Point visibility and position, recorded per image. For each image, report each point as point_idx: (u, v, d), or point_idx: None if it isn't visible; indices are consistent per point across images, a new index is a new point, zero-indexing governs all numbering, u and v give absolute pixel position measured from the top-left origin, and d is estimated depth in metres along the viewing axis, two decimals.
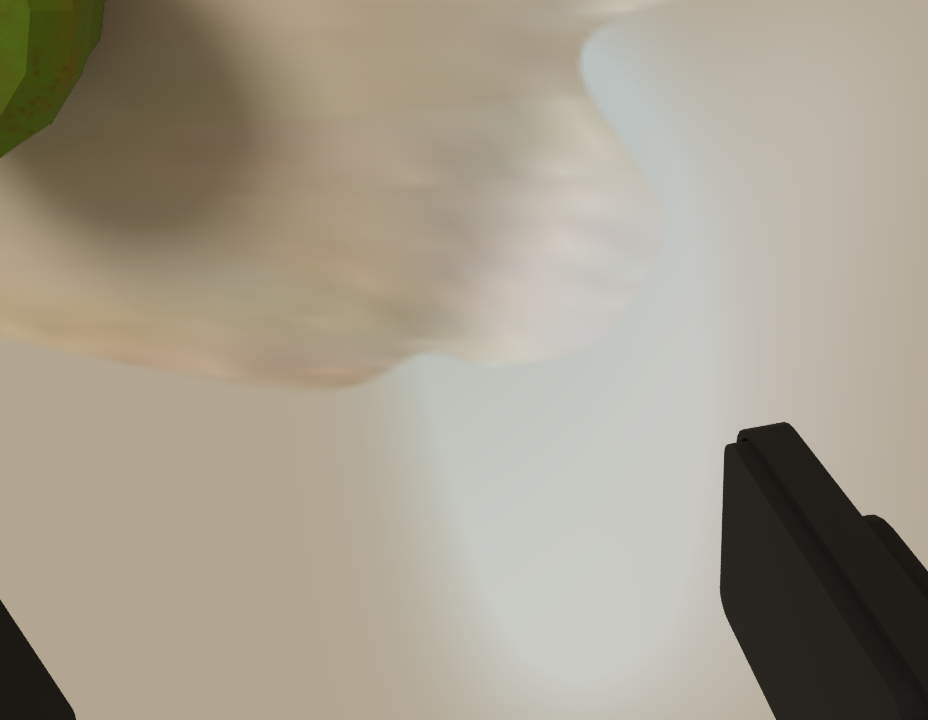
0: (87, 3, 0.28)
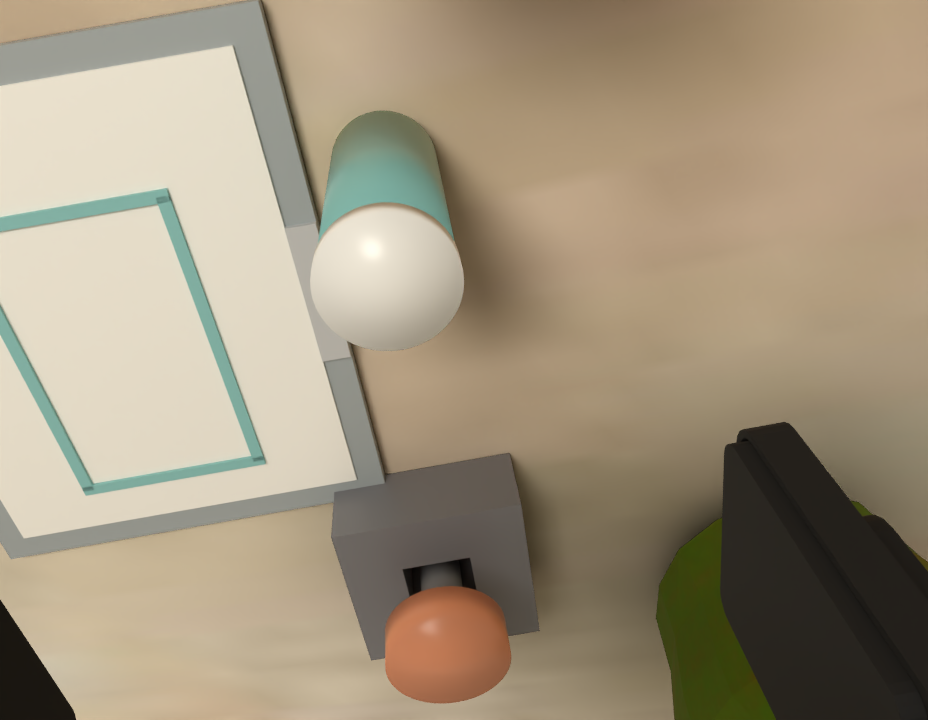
0: None
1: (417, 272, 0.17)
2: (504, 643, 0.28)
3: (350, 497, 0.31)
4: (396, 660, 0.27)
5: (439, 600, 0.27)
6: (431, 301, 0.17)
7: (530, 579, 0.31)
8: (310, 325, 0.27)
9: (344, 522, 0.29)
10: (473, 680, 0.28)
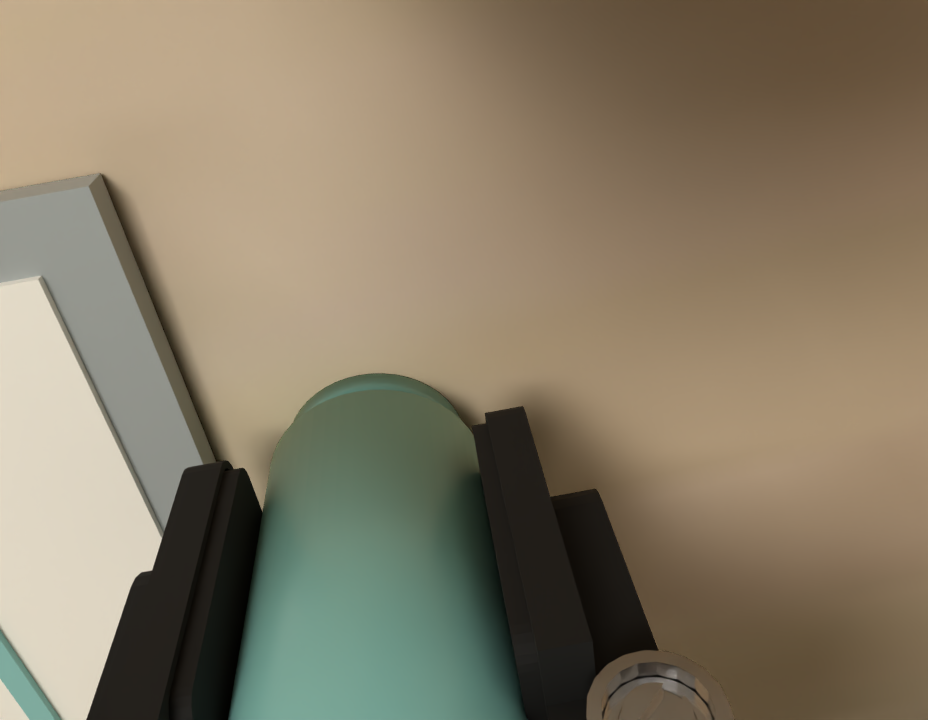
0: None
1: None
2: None
3: None
4: None
5: None
6: None
7: None
8: None
9: None
10: None
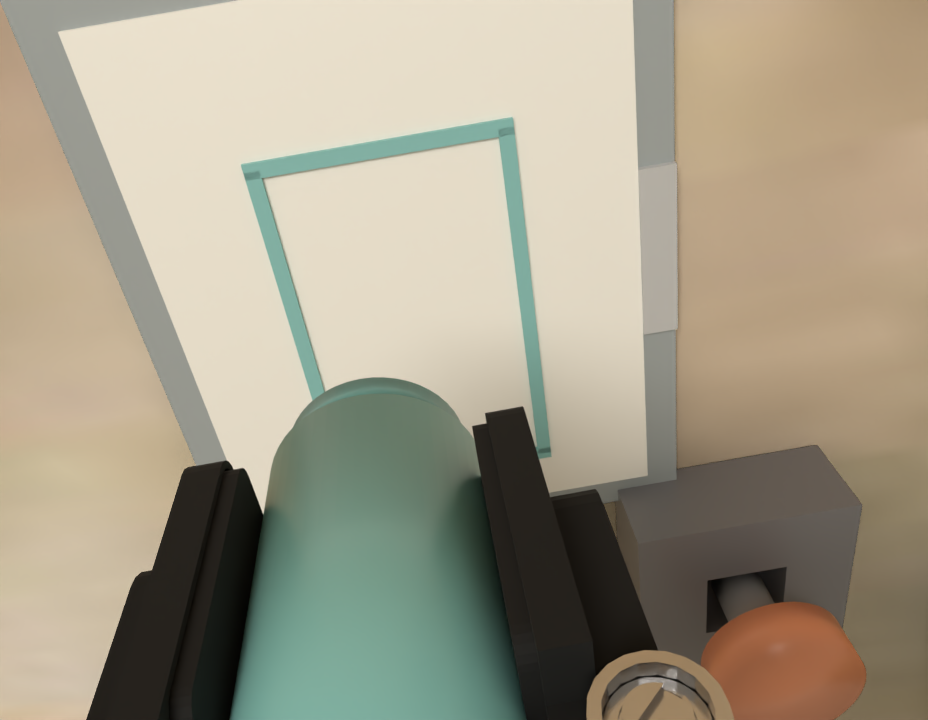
0: None
1: None
2: (862, 670, 0.23)
3: (640, 496, 0.26)
4: (734, 690, 0.23)
5: (786, 619, 0.23)
6: None
7: (846, 592, 0.27)
8: (637, 290, 0.23)
9: (646, 526, 0.25)
10: (812, 713, 0.24)
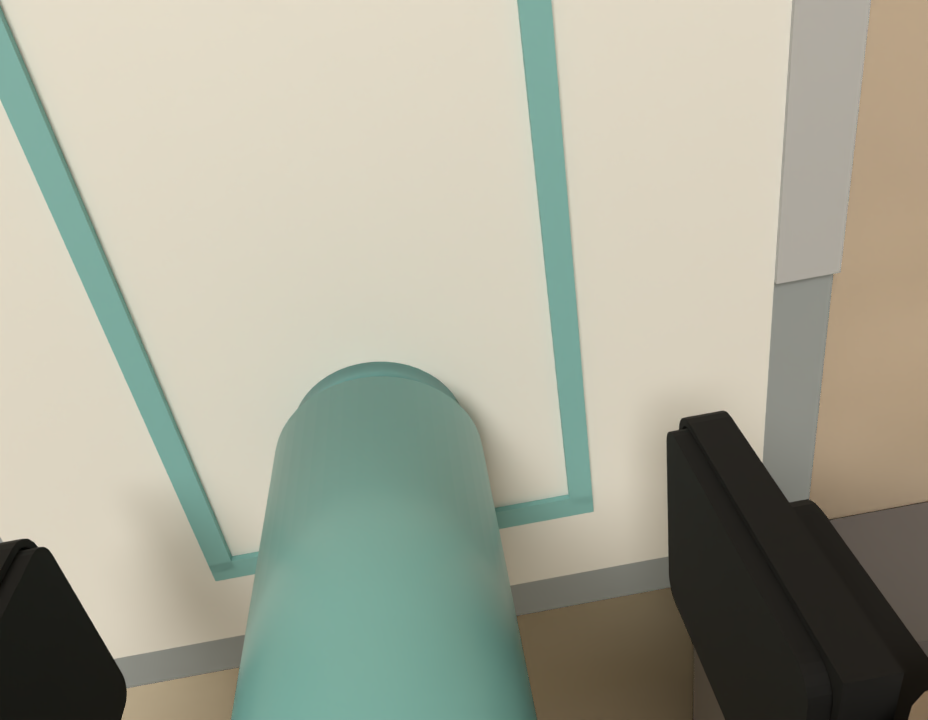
0: None
1: None
2: None
3: None
4: None
5: None
6: None
7: None
8: (770, 195, 0.12)
9: None
10: None
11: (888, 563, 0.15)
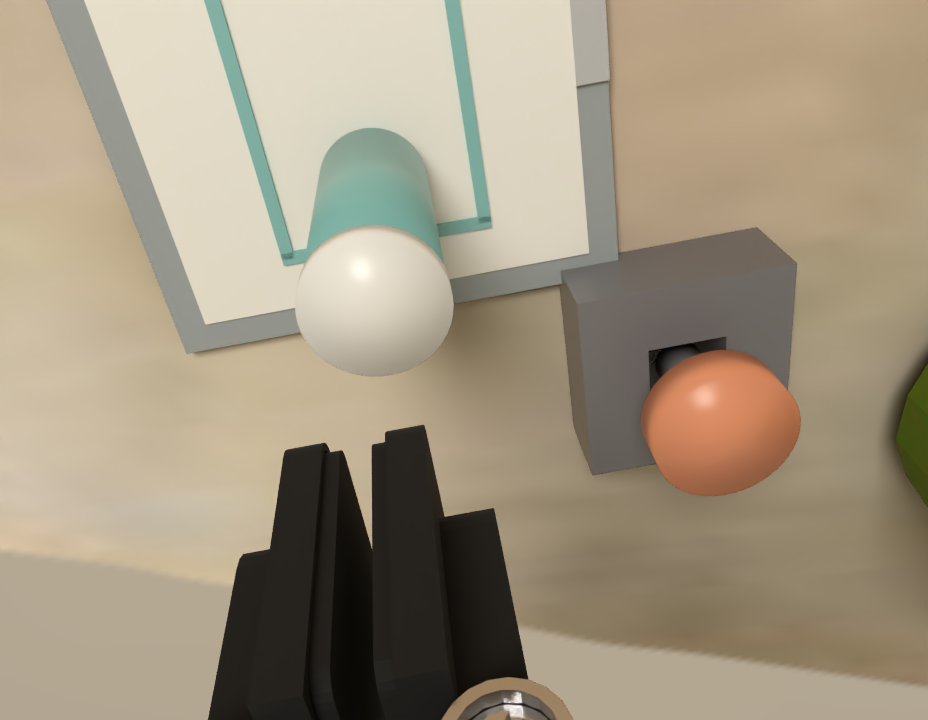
0: None
1: (405, 296, 0.17)
2: (796, 412, 0.23)
3: (582, 273, 0.27)
4: (670, 432, 0.23)
5: (720, 361, 0.23)
6: (419, 324, 0.17)
7: (787, 368, 0.27)
8: (568, 36, 0.23)
9: (586, 292, 0.25)
10: (750, 464, 0.24)
11: (661, 263, 0.26)
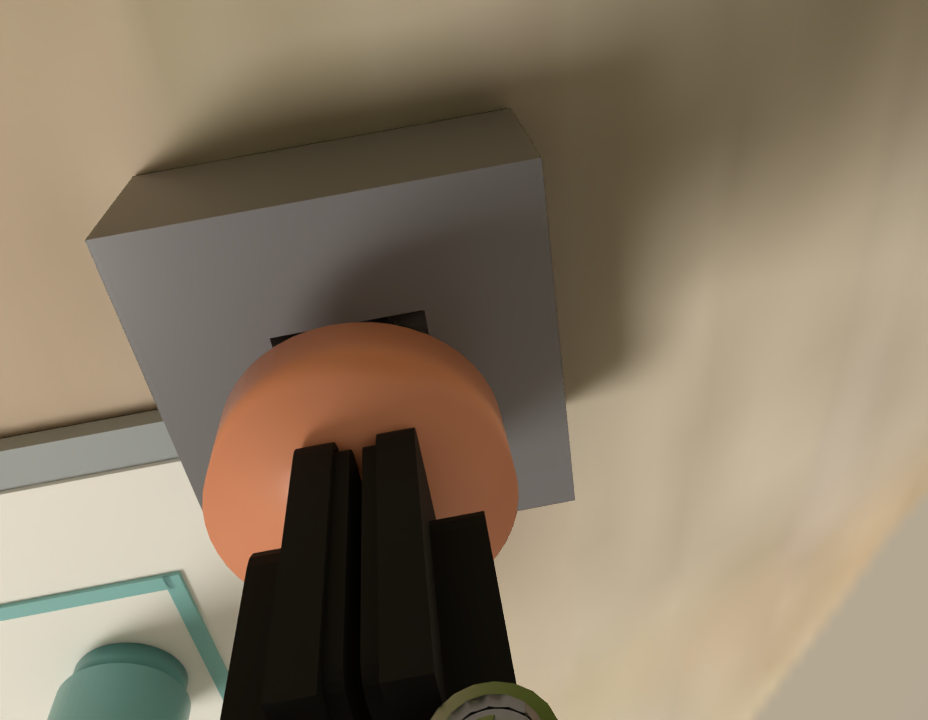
0: None
1: None
2: (289, 400, 0.10)
3: None
4: None
5: None
6: None
7: (344, 197, 0.12)
8: None
9: None
10: (437, 456, 0.11)
11: None
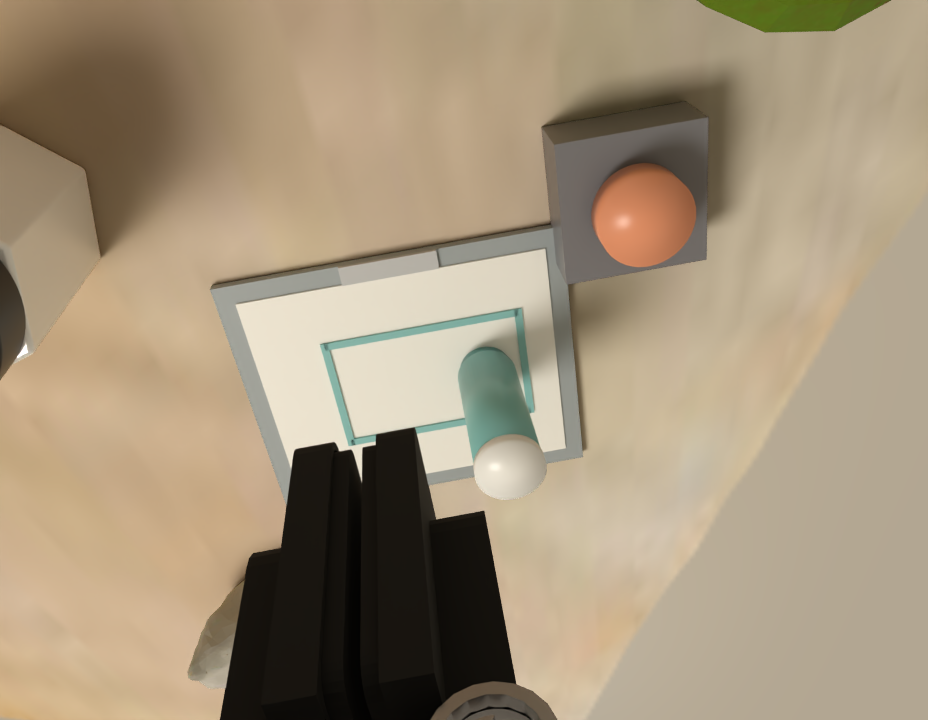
0: None
1: (505, 460, 0.36)
2: (634, 180, 0.34)
3: (557, 256, 0.40)
4: (634, 259, 0.36)
5: (594, 221, 0.36)
6: (521, 454, 0.36)
7: (641, 130, 0.35)
8: (412, 273, 0.41)
9: (563, 270, 0.39)
10: (673, 202, 0.35)
11: (553, 210, 0.39)
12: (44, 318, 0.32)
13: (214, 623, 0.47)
